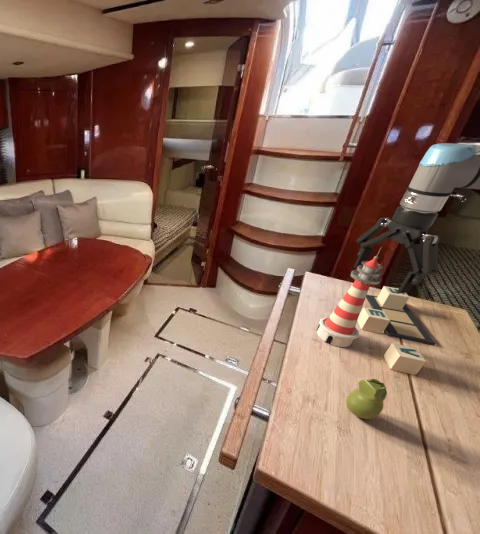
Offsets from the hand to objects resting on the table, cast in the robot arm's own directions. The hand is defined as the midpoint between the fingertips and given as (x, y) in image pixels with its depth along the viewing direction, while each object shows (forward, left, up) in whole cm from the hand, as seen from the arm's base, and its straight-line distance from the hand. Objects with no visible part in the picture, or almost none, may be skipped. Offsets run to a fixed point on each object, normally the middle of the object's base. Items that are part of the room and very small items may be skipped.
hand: (379, 279), depth 88 cm
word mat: (-12, -6, -16) cm, 21 cm away
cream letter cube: (-5, +18, -16) cm, 24 cm away
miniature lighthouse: (+8, +12, -16) cm, 21 cm away
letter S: (-12, -13, -15) cm, 23 cm away
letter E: (-3, +2, -16) cm, 16 cm away
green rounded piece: (+9, +39, -16) cm, 43 cm away
